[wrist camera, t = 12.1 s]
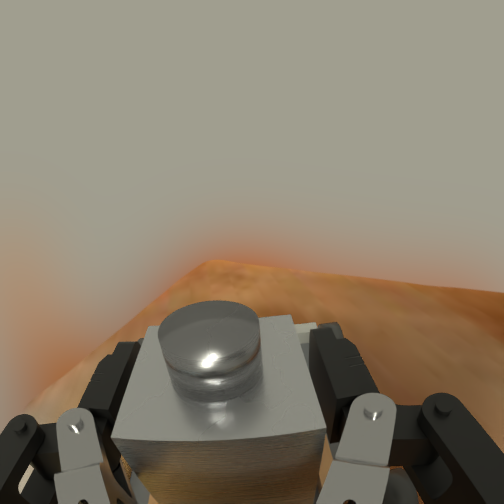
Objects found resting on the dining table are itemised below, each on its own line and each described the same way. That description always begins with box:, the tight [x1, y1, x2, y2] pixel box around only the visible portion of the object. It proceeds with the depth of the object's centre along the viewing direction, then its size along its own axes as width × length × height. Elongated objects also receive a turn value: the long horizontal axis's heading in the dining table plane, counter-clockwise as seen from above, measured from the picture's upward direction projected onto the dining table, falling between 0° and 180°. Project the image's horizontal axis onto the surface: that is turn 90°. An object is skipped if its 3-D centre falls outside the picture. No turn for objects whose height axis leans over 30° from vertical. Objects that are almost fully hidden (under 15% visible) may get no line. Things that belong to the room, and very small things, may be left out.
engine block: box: [111, 301, 327, 504], centre depth 10 cm, size 5×5×10 cm
